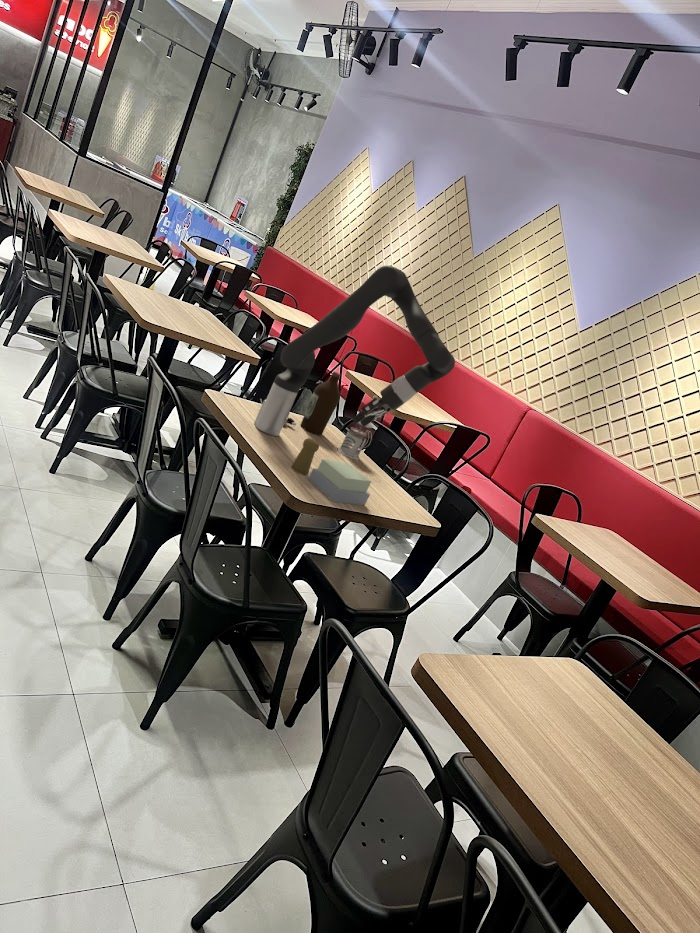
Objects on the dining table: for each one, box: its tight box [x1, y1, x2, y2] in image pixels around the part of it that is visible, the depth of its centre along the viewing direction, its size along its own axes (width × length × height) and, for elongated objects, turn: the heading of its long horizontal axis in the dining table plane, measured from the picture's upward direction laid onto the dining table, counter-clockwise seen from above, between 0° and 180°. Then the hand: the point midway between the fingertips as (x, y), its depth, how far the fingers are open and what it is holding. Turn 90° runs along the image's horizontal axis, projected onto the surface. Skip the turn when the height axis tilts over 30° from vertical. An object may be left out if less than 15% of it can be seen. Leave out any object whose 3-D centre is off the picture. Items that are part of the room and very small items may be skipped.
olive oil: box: [300, 371, 341, 436], centre depth 274 cm, size 11×11×25 cm
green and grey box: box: [307, 458, 372, 506], centre depth 219 cm, size 14×14×8 cm
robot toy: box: [259, 398, 297, 426], centre depth 269 cm, size 12×4×15 cm
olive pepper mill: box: [290, 437, 320, 476], centre depth 223 cm, size 6×6×11 cm
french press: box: [337, 395, 379, 461], centre depth 266 cm, size 10×12×25 cm
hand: (357, 422), depth 222 cm, fingers open, 8 cm apart
